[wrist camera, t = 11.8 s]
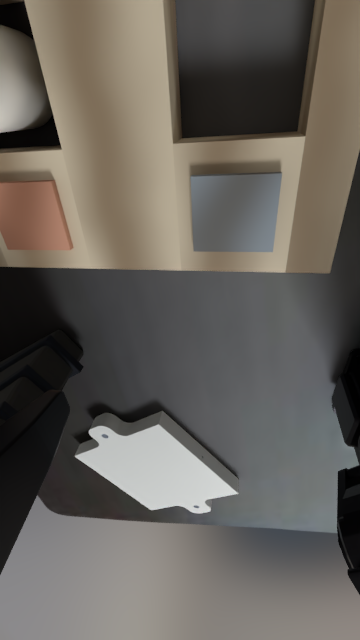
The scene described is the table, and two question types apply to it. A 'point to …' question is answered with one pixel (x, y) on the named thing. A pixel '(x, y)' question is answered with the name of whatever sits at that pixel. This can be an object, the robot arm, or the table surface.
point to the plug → (21, 83)
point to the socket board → (175, 153)
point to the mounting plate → (156, 462)
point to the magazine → (37, 372)
